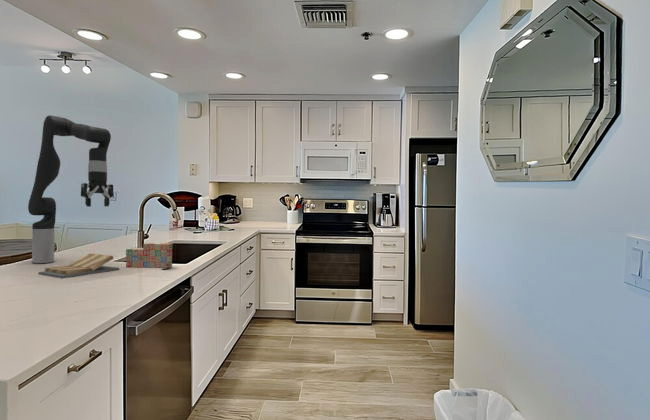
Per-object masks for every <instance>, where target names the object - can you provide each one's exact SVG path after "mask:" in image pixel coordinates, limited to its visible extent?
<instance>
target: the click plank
mask: <svg viewBox="0 0 650 420" xmlns="http://www.w3.org/2000/svg"><path fill="white" fill-rule="evenodd" d="M113 259H114V257H113V255H107V254H100V253H99V254H98V253H91V252H89V253H88V254H86V255H84V256H82V257H81V258H79V259H77V260H74V261H73V262H71V263H70V264H68V265H70V266H77V267H85V268H91V271H94V270H95V269H97V268H99V267H100V266H105V264H107V263H109V262H110V261H113Z"/></svg>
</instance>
